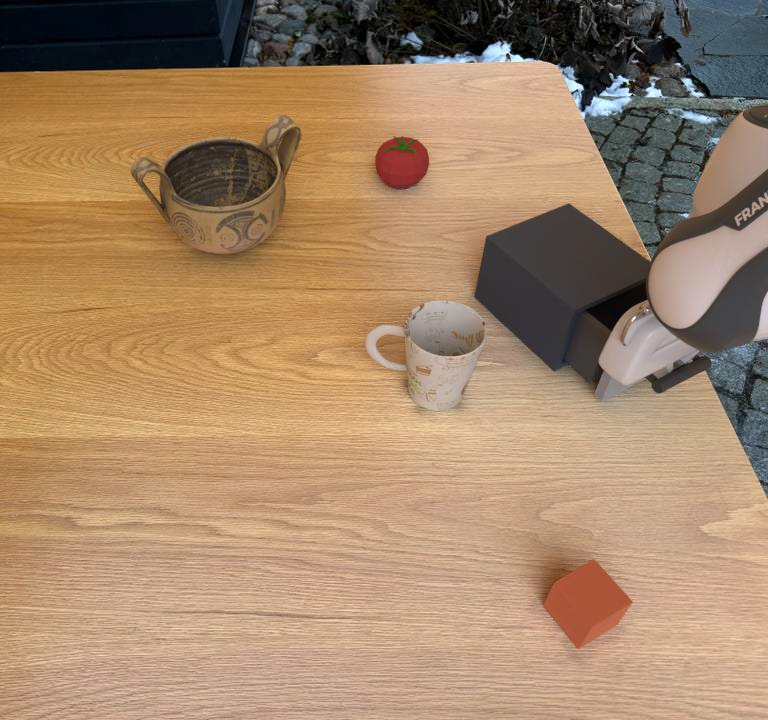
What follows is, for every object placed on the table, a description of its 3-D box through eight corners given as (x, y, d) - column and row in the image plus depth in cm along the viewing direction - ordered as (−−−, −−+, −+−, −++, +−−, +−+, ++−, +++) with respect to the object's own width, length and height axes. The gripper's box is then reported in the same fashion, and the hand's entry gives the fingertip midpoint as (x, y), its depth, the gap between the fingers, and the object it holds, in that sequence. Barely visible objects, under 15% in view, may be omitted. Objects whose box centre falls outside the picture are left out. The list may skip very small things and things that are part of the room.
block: (580, 582, 68) (594, 558, 64) (617, 624, 65) (633, 601, 62) (542, 605, 66) (553, 582, 63) (578, 649, 64) (592, 627, 60)
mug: (466, 427, 80) (480, 364, 73) (352, 401, 83) (355, 338, 76) (478, 372, 85) (492, 308, 78) (371, 349, 88) (375, 286, 81)
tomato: (365, 174, 113) (367, 128, 108) (411, 162, 115) (416, 117, 109) (387, 202, 108) (391, 156, 102) (436, 190, 110) (442, 144, 104)
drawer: (709, 388, 81) (738, 338, 76) (631, 430, 78) (655, 380, 72) (591, 293, 92) (608, 243, 86) (518, 326, 89) (531, 276, 83)
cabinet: (635, 332, 89) (662, 270, 82) (553, 371, 85) (574, 310, 78) (551, 263, 98) (569, 202, 91) (473, 297, 94) (485, 235, 87)
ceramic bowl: (274, 184, 112) (269, 89, 101) (328, 246, 102) (328, 149, 91) (133, 228, 106) (111, 132, 95) (174, 299, 95) (155, 201, 84)
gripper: (660, 333, 63) (614, 432, 73) (821, 254, 69) (758, 356, 79) (605, 290, 67) (569, 390, 77) (763, 219, 73) (710, 320, 83)
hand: (666, 372), depth 78 cm, fingers closed, pressing on drawer
